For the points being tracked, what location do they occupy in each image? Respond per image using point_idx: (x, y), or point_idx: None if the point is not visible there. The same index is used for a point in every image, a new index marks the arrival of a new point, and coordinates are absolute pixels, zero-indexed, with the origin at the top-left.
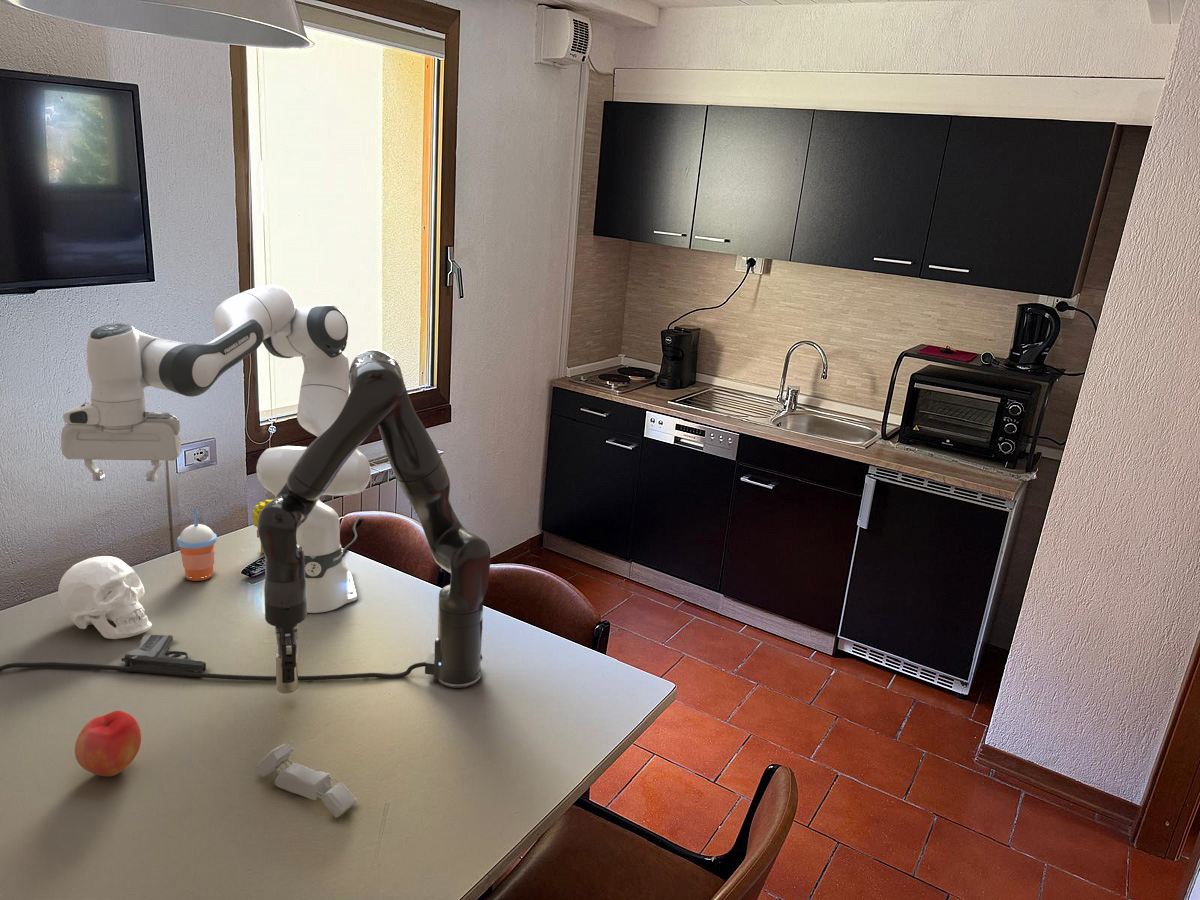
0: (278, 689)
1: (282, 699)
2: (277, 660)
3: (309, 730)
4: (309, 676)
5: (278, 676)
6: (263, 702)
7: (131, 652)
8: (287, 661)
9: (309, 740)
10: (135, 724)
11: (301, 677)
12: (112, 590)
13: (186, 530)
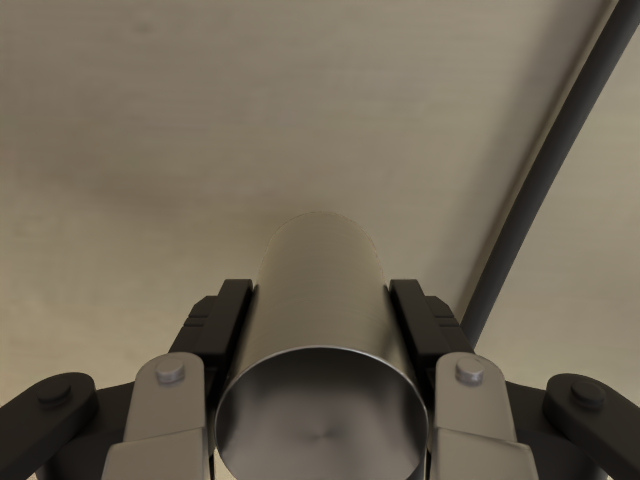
0: (289, 225)
1: (356, 211)
2: (268, 336)
3: (100, 296)
4: (469, 339)
5: (278, 264)
6: (358, 126)
7: None
8: (84, 463)
9: (32, 291)
10: None
11: (477, 307)
12: None
13: None
